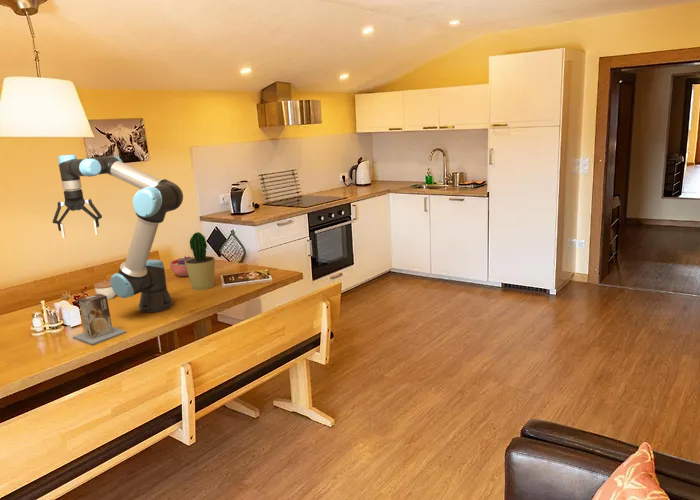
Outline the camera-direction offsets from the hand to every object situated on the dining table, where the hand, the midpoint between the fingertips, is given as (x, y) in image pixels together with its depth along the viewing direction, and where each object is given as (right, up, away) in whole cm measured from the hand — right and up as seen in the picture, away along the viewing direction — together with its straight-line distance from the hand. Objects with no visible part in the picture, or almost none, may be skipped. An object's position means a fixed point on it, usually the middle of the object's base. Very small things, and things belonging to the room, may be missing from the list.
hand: (80, 236), depth 249 cm
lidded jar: (-1, -31, +30) cm, 43 cm away
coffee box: (+19, -41, -22) cm, 51 cm away
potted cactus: (+45, -26, +39) cm, 66 cm away
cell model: (+30, -21, +64) cm, 74 cm away
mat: (+19, -42, -22) cm, 51 cm away
